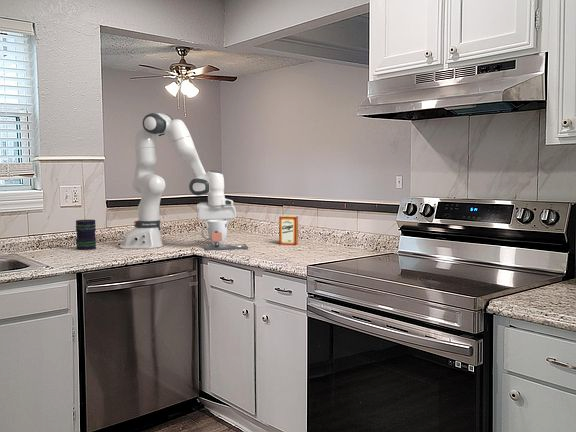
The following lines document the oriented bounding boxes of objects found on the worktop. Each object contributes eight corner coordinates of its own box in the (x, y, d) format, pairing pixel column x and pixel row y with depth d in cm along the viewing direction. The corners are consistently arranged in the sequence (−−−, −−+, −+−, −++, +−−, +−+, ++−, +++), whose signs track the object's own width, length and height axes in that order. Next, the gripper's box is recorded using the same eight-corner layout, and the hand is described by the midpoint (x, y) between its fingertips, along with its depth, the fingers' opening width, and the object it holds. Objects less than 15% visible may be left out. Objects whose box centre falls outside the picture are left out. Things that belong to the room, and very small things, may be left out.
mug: (198, 244, 313) (198, 221, 311) (204, 242, 323) (204, 219, 322) (224, 245, 310) (224, 221, 309) (229, 242, 321) (229, 219, 320)
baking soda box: (298, 243, 318) (298, 215, 317) (296, 245, 312) (296, 216, 311) (281, 243, 320) (281, 215, 319) (279, 244, 314) (279, 216, 312)
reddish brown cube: (211, 241, 295) (211, 231, 294) (211, 240, 300) (211, 230, 299) (221, 241, 296) (221, 231, 295) (221, 239, 301) (221, 230, 300)
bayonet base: (205, 250, 291) (205, 236, 290) (204, 247, 303) (204, 233, 302) (248, 249, 295) (248, 235, 295) (245, 246, 307) (245, 233, 307)
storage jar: (89, 250, 289) (89, 221, 288) (72, 249, 291) (71, 221, 290) (99, 247, 299) (99, 219, 298) (83, 247, 301) (82, 219, 300)
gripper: (196, 202, 290) (197, 229, 292) (236, 201, 294) (237, 227, 296) (196, 201, 297) (197, 227, 298) (234, 200, 301) (235, 226, 302)
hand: (217, 227), depth 297 cm, fingers open, 8 cm apart
